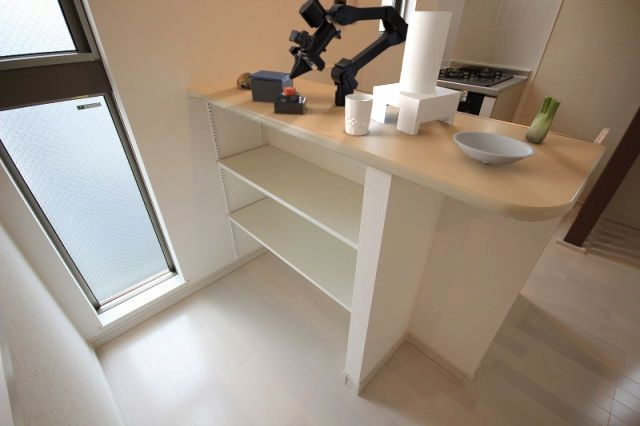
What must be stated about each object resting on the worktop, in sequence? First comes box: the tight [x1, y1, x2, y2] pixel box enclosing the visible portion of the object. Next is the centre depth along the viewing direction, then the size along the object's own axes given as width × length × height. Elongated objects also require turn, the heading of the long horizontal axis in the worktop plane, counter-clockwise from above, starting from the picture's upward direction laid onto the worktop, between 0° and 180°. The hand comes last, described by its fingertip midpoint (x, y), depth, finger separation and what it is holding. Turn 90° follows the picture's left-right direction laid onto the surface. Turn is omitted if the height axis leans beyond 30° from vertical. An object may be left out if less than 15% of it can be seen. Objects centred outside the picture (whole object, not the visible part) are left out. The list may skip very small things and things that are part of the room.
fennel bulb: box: [524, 95, 561, 144], centre depth 81 cm, size 6×5×12 cm
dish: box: [452, 130, 536, 165], centre depth 71 cm, size 18×14×5 cm
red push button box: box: [273, 91, 307, 115], centre depth 105 cm, size 10×8×6 cm
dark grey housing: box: [250, 78, 294, 104], centre depth 118 cm, size 13×13×8 cm
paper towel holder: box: [370, 10, 462, 136], centre depth 90 cm, size 19×19×30 cm
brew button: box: [284, 86, 297, 95], centre depth 102 cm, size 4×4×2 cm
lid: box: [248, 69, 291, 82], centre depth 115 cm, size 13×13×1 cm
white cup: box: [344, 93, 374, 137], centre depth 87 cm, size 8×8×10 cm
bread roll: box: [236, 71, 253, 90], centre depth 135 cm, size 10×10×8 cm
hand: (290, 78), depth 100 cm, fingers closed
